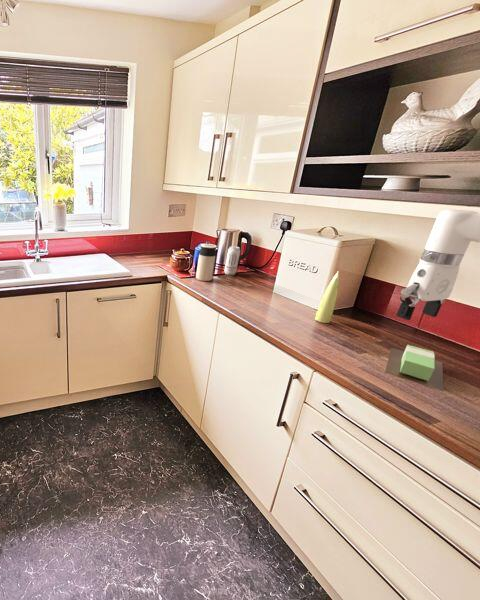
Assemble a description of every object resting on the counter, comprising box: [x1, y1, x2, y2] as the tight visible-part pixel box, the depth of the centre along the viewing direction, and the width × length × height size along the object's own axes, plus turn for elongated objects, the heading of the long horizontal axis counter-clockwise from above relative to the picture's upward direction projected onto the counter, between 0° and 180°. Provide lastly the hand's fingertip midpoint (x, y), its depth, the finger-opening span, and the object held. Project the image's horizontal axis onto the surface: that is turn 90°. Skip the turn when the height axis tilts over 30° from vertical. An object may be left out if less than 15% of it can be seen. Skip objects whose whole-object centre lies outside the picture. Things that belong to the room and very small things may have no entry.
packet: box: [400, 344, 436, 381], centre depth 99 cm, size 6×14×4 cm, turn 135°
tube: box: [314, 271, 340, 324], centre depth 127 cm, size 6×5×20 cm
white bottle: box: [224, 245, 241, 276], centre depth 182 cm, size 6×6×15 cm
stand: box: [384, 347, 444, 392], centre depth 100 cm, size 12×20×1 cm, turn 135°
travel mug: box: [195, 243, 217, 282], centre depth 173 cm, size 8×8×18 cm
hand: (416, 316), depth 95 cm, fingers open, 9 cm apart
